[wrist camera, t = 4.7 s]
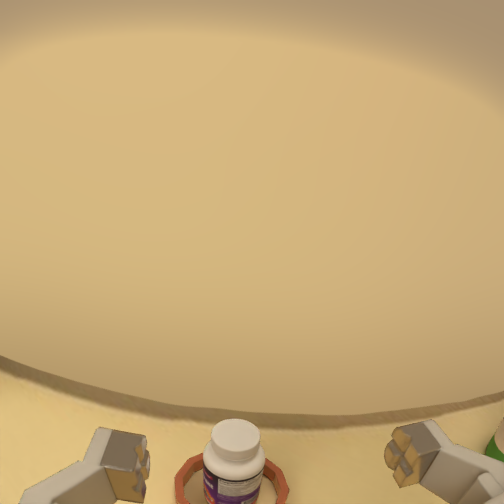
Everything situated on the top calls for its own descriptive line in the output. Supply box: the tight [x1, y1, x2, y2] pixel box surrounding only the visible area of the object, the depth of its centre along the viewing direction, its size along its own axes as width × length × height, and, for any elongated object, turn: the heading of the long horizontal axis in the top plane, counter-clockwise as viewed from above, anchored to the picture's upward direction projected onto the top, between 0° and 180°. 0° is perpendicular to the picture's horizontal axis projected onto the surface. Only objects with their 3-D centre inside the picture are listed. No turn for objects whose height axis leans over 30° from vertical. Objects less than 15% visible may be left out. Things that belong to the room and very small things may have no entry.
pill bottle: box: [203, 419, 265, 504], centre depth 24 cm, size 5×5×10 cm
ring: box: [175, 453, 289, 504], centre depth 25 cm, size 11×11×2 cm
